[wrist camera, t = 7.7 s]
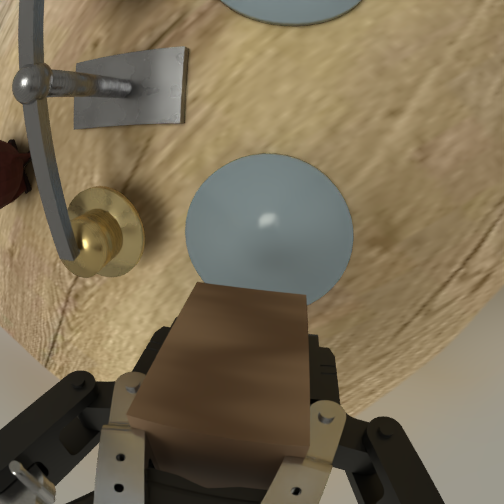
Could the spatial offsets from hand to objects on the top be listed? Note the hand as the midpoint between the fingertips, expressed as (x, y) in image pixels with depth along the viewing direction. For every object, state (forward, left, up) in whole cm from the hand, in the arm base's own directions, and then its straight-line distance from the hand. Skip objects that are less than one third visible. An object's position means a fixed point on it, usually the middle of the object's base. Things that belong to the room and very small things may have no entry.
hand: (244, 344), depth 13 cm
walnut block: (0, 0, -1) cm, 1 cm away
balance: (+12, -11, -13) cm, 21 cm away
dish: (0, 0, -13) cm, 13 cm away
